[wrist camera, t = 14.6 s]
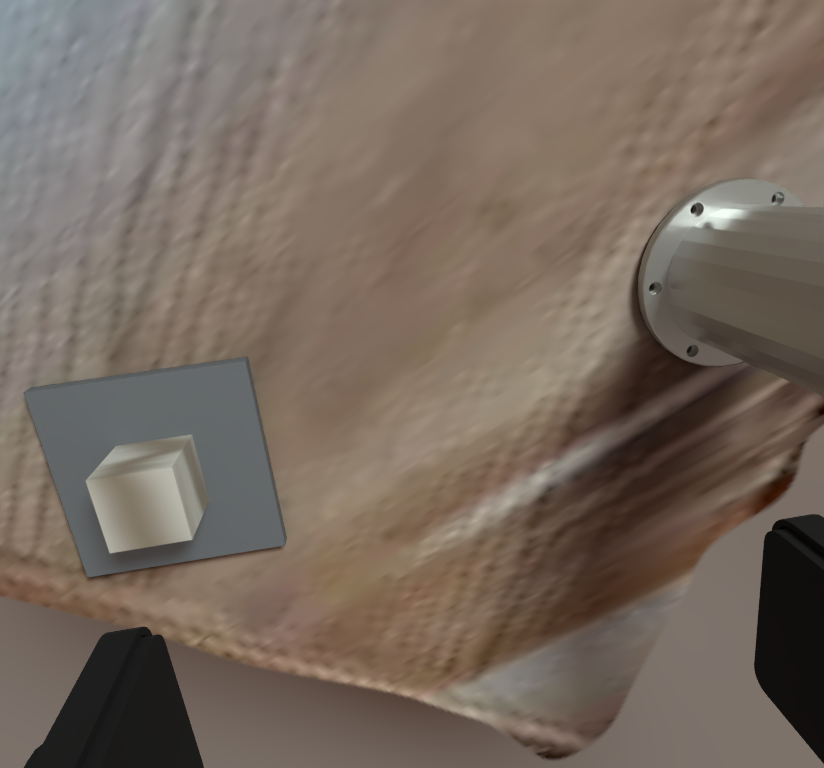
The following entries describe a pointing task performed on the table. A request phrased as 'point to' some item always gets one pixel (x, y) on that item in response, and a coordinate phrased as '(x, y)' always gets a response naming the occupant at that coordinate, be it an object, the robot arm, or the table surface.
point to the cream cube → (149, 493)
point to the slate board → (158, 419)
